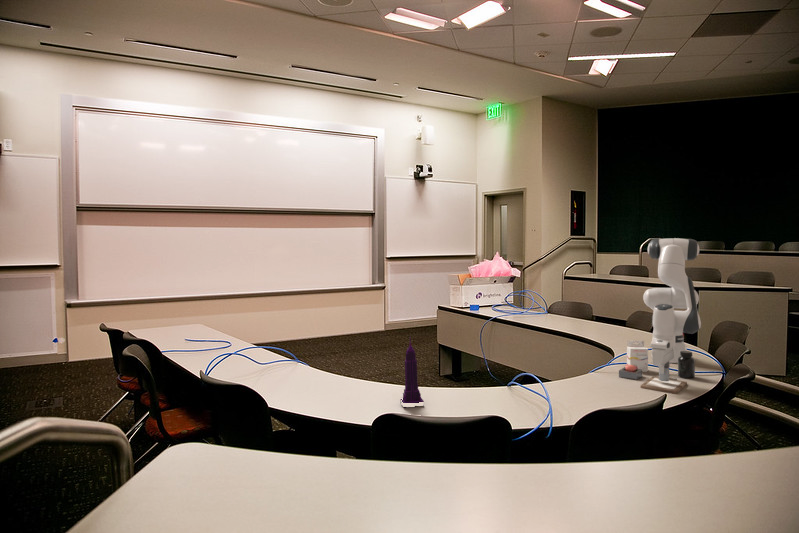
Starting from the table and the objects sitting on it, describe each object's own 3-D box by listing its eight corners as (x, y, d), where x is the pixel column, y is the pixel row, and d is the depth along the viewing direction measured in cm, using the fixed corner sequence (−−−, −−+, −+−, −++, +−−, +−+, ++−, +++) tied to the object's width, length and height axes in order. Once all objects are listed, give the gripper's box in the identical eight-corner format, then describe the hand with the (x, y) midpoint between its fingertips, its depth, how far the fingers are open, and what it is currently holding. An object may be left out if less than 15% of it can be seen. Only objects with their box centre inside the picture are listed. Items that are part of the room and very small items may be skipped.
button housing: (624, 373, 232) (624, 366, 232) (642, 376, 226) (642, 369, 226) (618, 377, 226) (618, 370, 226) (636, 380, 220) (636, 373, 220)
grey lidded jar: (660, 378, 213) (660, 360, 213) (670, 379, 210) (670, 362, 210) (657, 380, 210) (657, 362, 210) (667, 382, 207) (667, 364, 207)
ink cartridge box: (630, 371, 234) (630, 342, 233) (626, 369, 239) (626, 340, 238) (648, 371, 233) (648, 342, 232) (644, 369, 238) (644, 340, 237)
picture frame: (653, 378, 222) (653, 374, 222) (687, 384, 212) (687, 379, 212) (640, 387, 209) (640, 383, 209) (676, 394, 199) (676, 389, 199)
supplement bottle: (688, 374, 226) (688, 349, 226) (698, 378, 220) (698, 353, 219) (674, 375, 226) (674, 350, 226) (683, 379, 219) (683, 353, 219)
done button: (627, 370, 229) (627, 364, 229) (637, 371, 226) (637, 365, 226) (624, 372, 226) (624, 366, 226) (633, 373, 223) (633, 367, 223)
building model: (403, 408, 192) (400, 335, 191) (400, 403, 199) (398, 332, 197) (424, 406, 194) (421, 334, 192) (420, 401, 200) (418, 331, 199)
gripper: (662, 336, 219) (663, 366, 220) (649, 344, 205) (649, 375, 205) (678, 338, 215) (678, 368, 216) (665, 346, 200) (665, 378, 201)
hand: (663, 372), depth 210 cm, fingers closed on grey lidded jar, 4 cm apart
